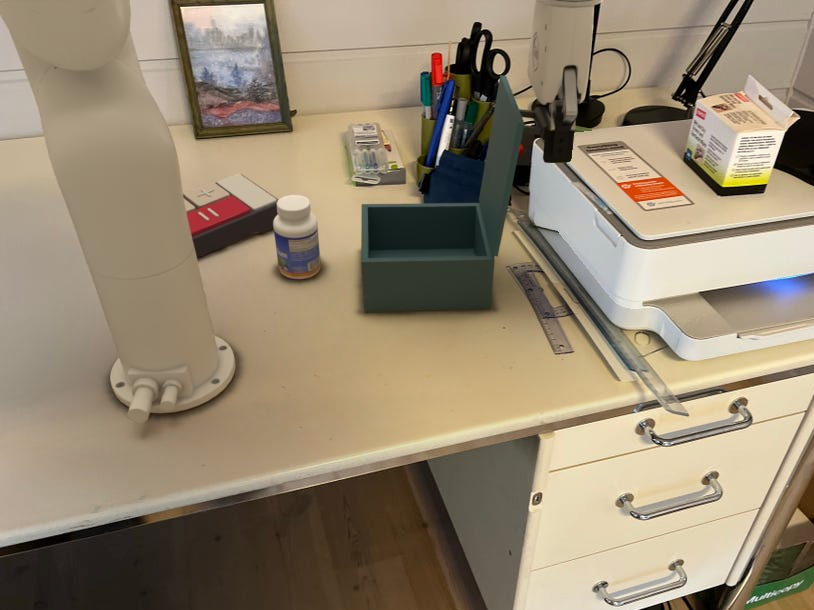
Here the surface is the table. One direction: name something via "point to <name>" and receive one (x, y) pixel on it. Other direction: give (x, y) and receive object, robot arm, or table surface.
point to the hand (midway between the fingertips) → (551, 147)
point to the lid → (504, 158)
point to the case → (425, 257)
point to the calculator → (228, 212)
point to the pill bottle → (296, 238)
